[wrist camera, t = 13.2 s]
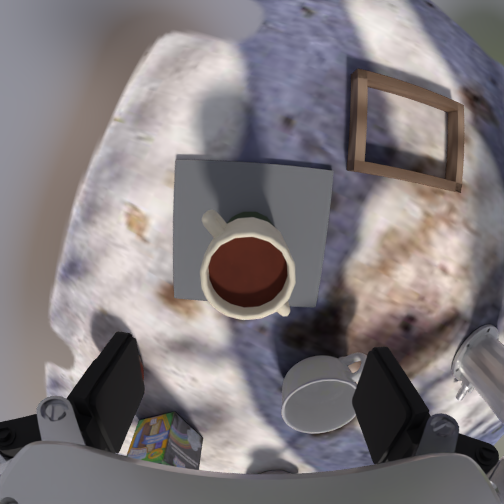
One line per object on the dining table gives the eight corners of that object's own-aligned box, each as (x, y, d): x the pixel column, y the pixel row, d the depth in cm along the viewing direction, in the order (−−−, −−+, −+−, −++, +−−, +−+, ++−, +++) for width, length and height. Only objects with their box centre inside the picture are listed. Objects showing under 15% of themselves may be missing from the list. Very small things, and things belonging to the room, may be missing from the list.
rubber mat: (314, 305, 36) (315, 307, 36) (175, 295, 36) (174, 297, 35) (332, 170, 32) (333, 170, 31) (177, 159, 31) (175, 159, 31)
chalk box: (138, 419, 43) (114, 479, 29) (175, 409, 42) (156, 478, 28) (168, 446, 45) (153, 504, 31) (205, 438, 44) (195, 503, 30)
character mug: (195, 219, 33) (161, 250, 20) (243, 180, 31) (238, 186, 19) (254, 289, 35) (255, 351, 22) (301, 254, 34) (328, 302, 21)
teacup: (304, 407, 41) (311, 443, 34) (262, 372, 39) (264, 411, 32) (375, 360, 39) (394, 392, 31) (341, 317, 37) (360, 350, 29)
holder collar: (450, 190, 32) (460, 192, 29) (346, 170, 31) (353, 170, 29) (453, 107, 28) (463, 105, 26) (351, 74, 28) (357, 68, 26)
